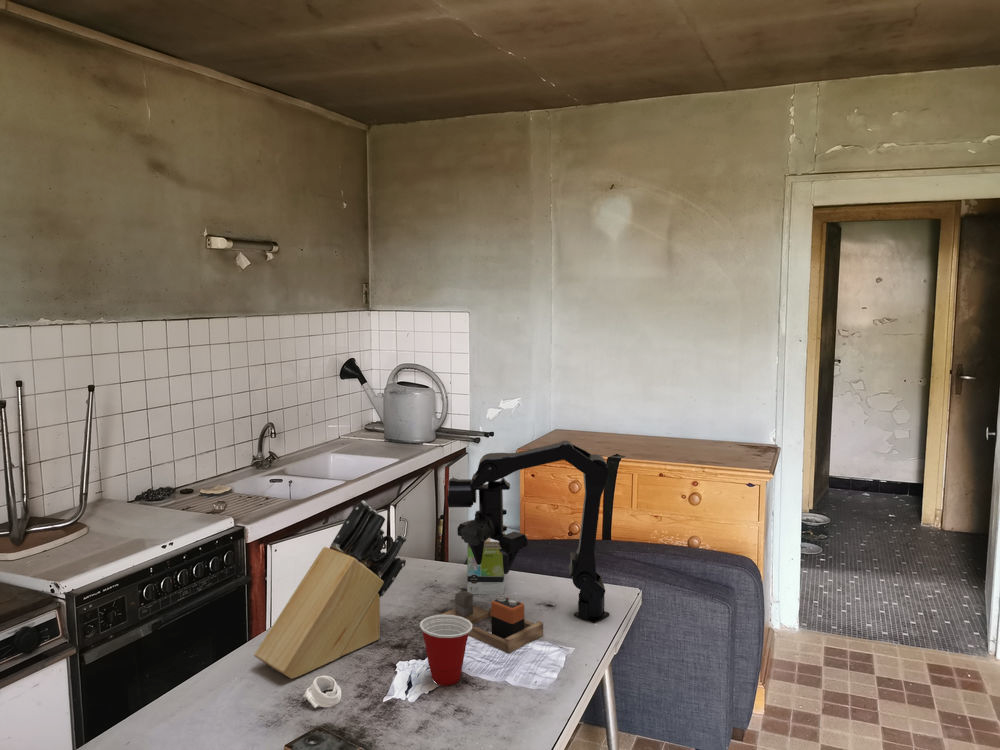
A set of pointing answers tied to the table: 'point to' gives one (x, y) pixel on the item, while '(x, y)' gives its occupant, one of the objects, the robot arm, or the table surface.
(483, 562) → the tea box
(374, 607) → the knife block
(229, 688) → the table surface
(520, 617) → the battery
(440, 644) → the plastic cup
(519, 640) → the wooden tray frame
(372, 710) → the table surface
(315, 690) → the white plastic ring
